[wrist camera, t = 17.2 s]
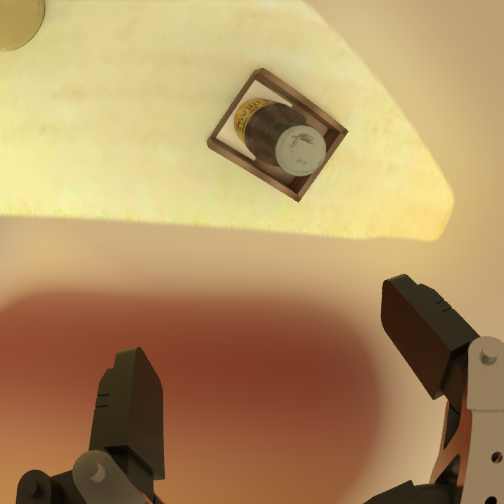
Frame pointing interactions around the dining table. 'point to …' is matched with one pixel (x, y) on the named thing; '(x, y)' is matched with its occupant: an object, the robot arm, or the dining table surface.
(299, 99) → the box
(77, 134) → the dining table surface
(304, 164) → the sauce bottle
